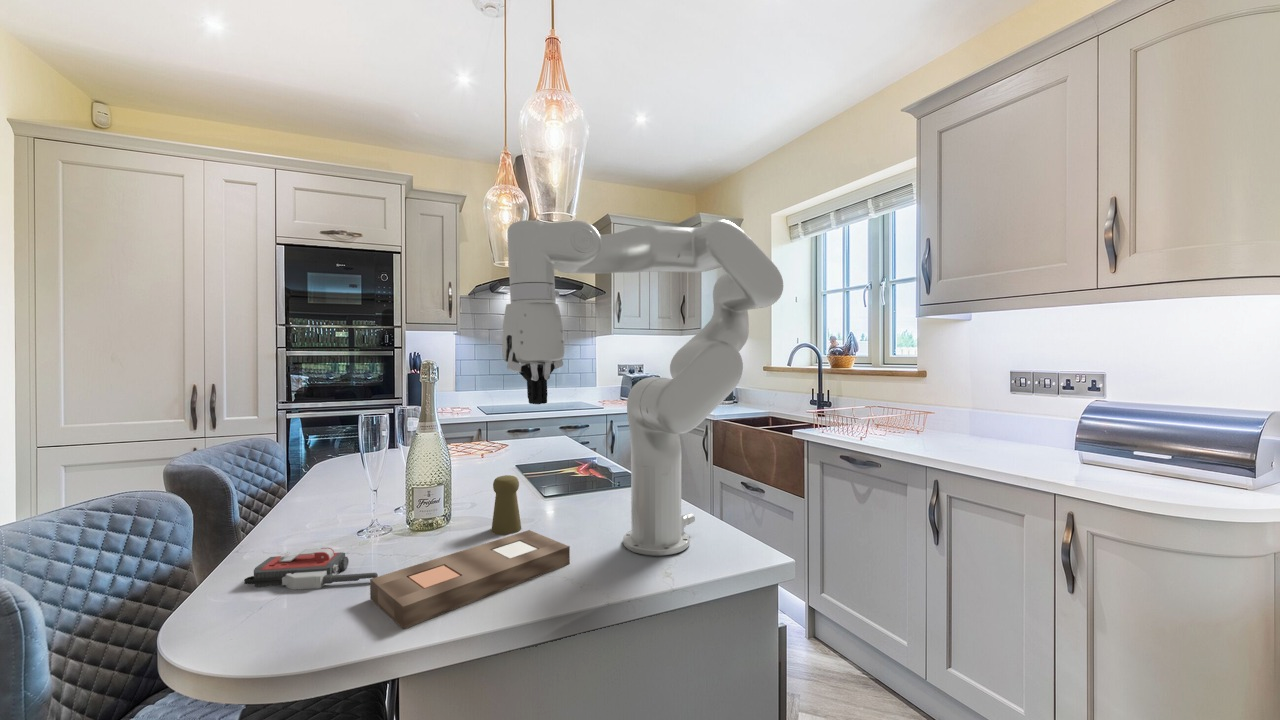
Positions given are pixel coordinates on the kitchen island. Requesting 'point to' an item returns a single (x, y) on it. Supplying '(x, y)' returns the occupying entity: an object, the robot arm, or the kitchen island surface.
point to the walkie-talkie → (304, 570)
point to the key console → (465, 578)
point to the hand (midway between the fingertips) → (537, 403)
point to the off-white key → (514, 549)
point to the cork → (506, 506)
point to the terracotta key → (433, 577)
